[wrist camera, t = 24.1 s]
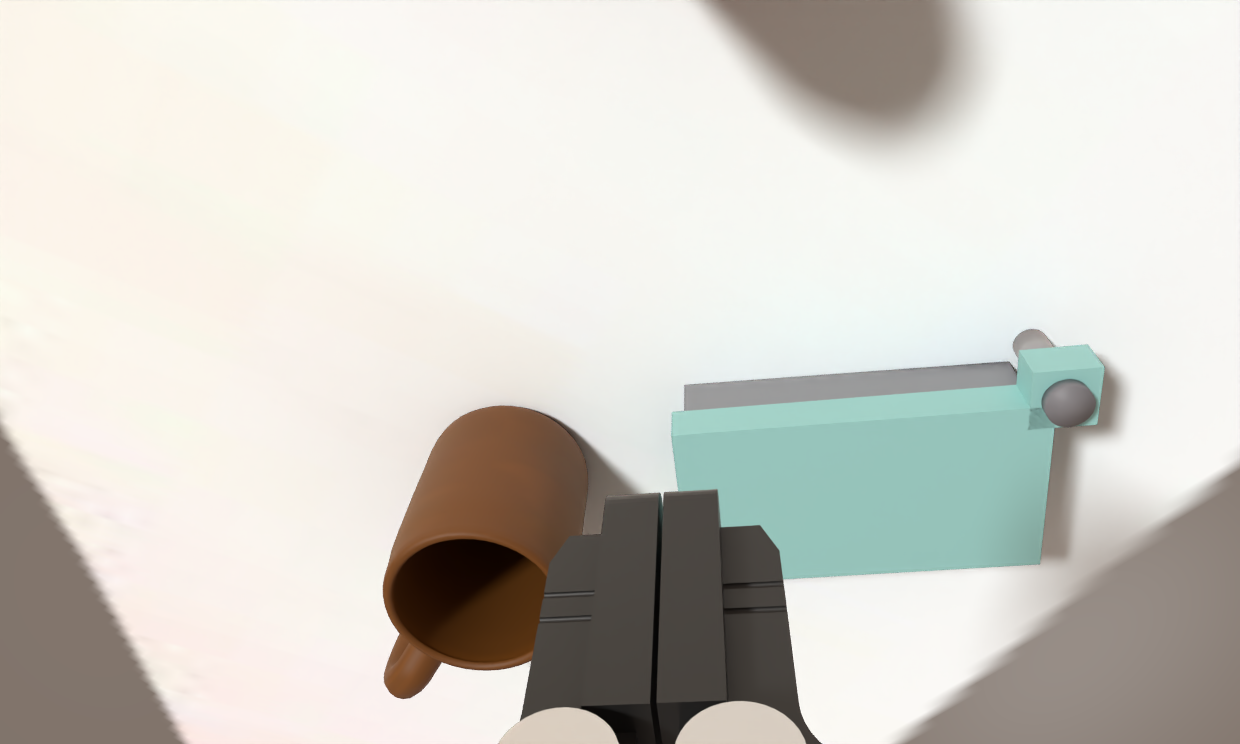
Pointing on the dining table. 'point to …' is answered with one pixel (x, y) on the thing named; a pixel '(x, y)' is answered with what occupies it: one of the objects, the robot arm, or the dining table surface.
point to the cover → (895, 470)
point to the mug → (481, 544)
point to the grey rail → (859, 382)
